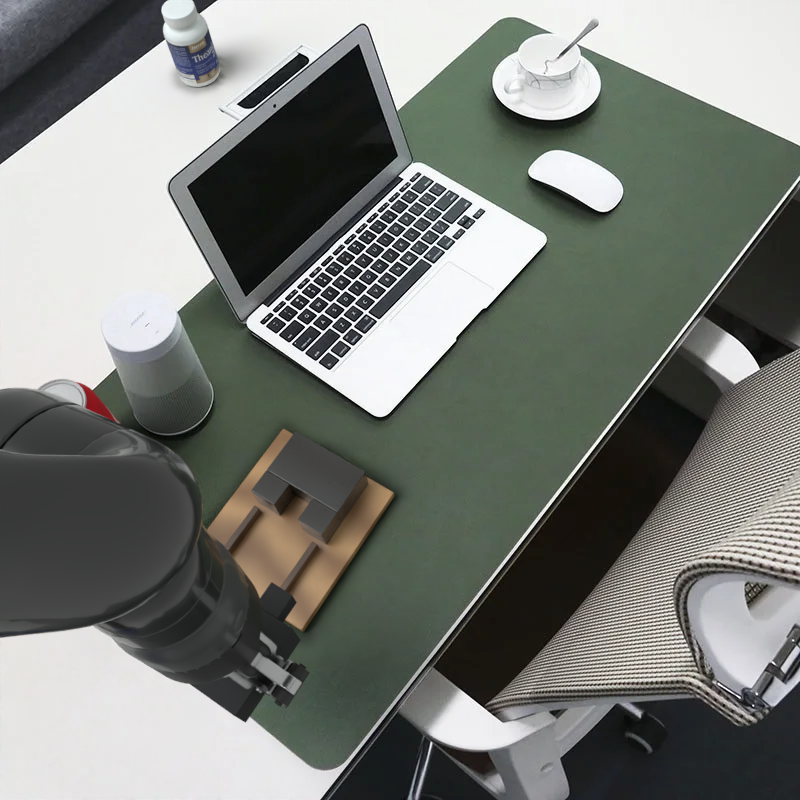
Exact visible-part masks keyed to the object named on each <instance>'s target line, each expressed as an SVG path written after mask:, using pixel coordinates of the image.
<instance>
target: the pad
mask: <svg viewBox="0 0 800 800" xmlns="http://www.w3.org/2000/svg"><path fill="white" fill-rule="evenodd" d="M260 601H261V606H262V626H261V632H262V633H263V634H265V635H266V636H267V637H268V638H269V639H270V640H272V641H273V642H274V643H275V644H276V645H277V650H276V655H277V656H278V655H279V656H281V657H282V658H284V660H283V661H284V662H286V661H287V660H288V659H289V660H290V657H291V656H292V654H293V653H294V651H295V649H297V647H298V645H299V644H300V642H301V641H302V640H301V638H300V637H299V635H298V634H297V633H296V631H295V629H293V628H292V627H291V626H289V625H287V624H286V623H285V622H286V621H285V619H286V618H287V616H288V615H289V613H290V612H291V610H292V609H293V607H294V606H295V604H296V603H297V602H296V600H295V599H294V597H293V596H292V595H291V594H290V593H288V592H286V591H285V590H283V589H282V588H280V587H279V586H277V585H276V584H274V583H272V582H271V583H270V585H269V586H268V588H267V589H266V590H265V592H264V593H263V595H262V596H261V598H260ZM189 685H190V686H192V687H193V688H194V689H196V690H197V691H199V692H200V693H202V694H203V695H204V696H205V697H207V698H209V699H210V700H211V701H213V702H214V703H216V704H217V705H219V706H220V707H221V708H222V709H224V710H226V711H227V712H228V713H229V714H231V715H232V716H234V717H235V718H237V719H238V720H240V721H242V722H243V723H247V722H248V720H249V719H250V717H251V715H252V714H253V713H254V711H255V710H256V708H257V707H258V705H259V704H260V702H261V701H262V699H263V698H264V697H265V695H266V694H265V693H263V692H262V693H259V692H258V691H257V690H255V689H256V687H255V686H252V687H251V688H250V689H245V688H244V687H242V686H241V685H239V684H238V683H236V682H235V681H233V680H232V679H231V678H229V677H226V678H223V677H222V678H220V679H218V680H215V681H212V682H208V683H202V684H189Z"/></svg>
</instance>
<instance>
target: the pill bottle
mask: <svg viewBox="0 0 800 800" xmlns="http://www.w3.org/2000/svg"><path fill="white" fill-rule="evenodd" d="M197 10H198V9H197V7H196V5H195V1H193V0H166V1H165V2H164V3H163V4H162V6H161V15H162V18H163V20H164V23H163V25H162V33H163V37H164V39H165V42H166V45H167V47H168V50H169V53H170V56H171V58H172V62H173V63H174V66H175V69H176V72H177V75H178V77H179V79H180V81H181V82H182V83H183V84H185V85H187V86H189V87H193V88H200V87H205V86H208V85H210V84H212V83H213V82H214V81H216V80H217V78H218V77H219V76H220V73H221V65H220V62H219V58H218V54H217V52H216V48H215V46H214V42H213V39H212V36H211V32H210V29H209V26H208V25H209V24H208V23H207V20H206V18H205V17H204V16H203V15H202V14H200V13H198V11H197Z"/></svg>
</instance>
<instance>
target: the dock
mask: <svg viewBox="0 0 800 800" xmlns="http://www.w3.org/2000/svg"><path fill="white" fill-rule="evenodd" d="M394 498H395V493H394V492H393V491H392V490H390V489H389V488H387V487H385V486H384V485H382V484H379V483H378V482H376V481H375V480H373V479H371V478H370V477H368V476H367V473H366V471H364V470H363V469H361V468H360V467H358V466H356V465H354V464H353V463H351V462H349V461H348V460H346V459H344V458H342V457H341V456H339V455H337V454H335V453H334V452H332V451H330V450H328V449H327V448H325V447H324V446H321V445H320V444H318V443H317V442H315V441H314V440H311V439H310V438H308V437H306V436H304V435H303V434H301V433H299V432H298V431H295V432H293V433H292V432H290V431H289V430H287V429H285V428H282V429H281V431H280V432H279V433H278V434H277V436H276V438H275V439H274V440H273V441H272V442H271V444H270V445H269V446H268V447H267V449H266V451H264V453H263V455H262V456H261V457H260V458H259V460H258V461H257V462H256V464H255V465H254V467H252V469H250V472H249V473H248V474H247V475H246V477H245V478H244V479H243V481H242V483H241V484H240V485H239V486H238V487H237V489H236V490H235V492H234V493H233V494H232V495H231V497H230V498H229V500H228V501H226V504H224V506H223V508H222V509H221V510H220V512H219V513H218V514H217V516H216V517H215V518H214V519H213V520H212V522H211V523H210V525H209V526H208V527H207V528H206V530H207V531H208V532H209V534H210V535H212V536H213V537H215V538H216V539H217V540H218V541H220V542H221V543H222V544H223V545H224V546H225V548H226V549H227V550H228V551H229V552H230V553H231V555H232V556H233V558H234V559H235V560H236V562H237V563H238V564H239V566H240V567H241V568H242V570H243V571H244V572H245V574H246V575H247V576H248V578H249V579H250V580H251V582H252V583H253V585H254V586H255V588H256V590H257V592H258V594H259V597H260V598H261V596H262V595H263V593H264V592H265V590H266V589H267V588H268V586H269V585H270V583H271V582H272V583H274V584H276V585H277V586H279V587H280V588H282V589H283V590H285V591H286V592H288V593H290V594H291V595H292V596H293V597H294V599H295V600H296V602H297V603H296V604H295V606H294V607H293V609H292V610H291V612H290V613H289V615H288V616H287V618H286V619H285V621H284V622H286V623H288V624H289V625H291V626H292V627H294V628H295V629H297V630H299V631H300V632H301V633H303V632H305V630H306V629H307V628H308V626H309V624H310V623H311V622H312V620H313V619H314V617H315V616H316V615H317V613H318V611H319V610H320V608H321V607H322V605H323V604H324V602H325V601H326V600H327V598H328V597H329V595H330V593H331V591H332V590H333V589H334V587H335V586H336V584H337V583H338V581H339V580H340V578H341V577H342V575H343V574H344V573H345V571H346V570H347V568H348V566H349V565H350V563H351V562H352V560H353V559H354V558H355V556H356V554H357V553H358V551H359V550H360V549H361V547H362V546H363V544H364V542H365V541H366V539H367V538H368V536H369V535H370V533H371V532H372V531H373V529H374V528H375V526H376V524H377V523H378V521H379V520H380V519H381V517H382V515H384V513H385V511H386V510H387V509H388V507H389V505H390V504H391V502H392V501H393V499H394Z"/></svg>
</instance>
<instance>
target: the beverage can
mask: <svg viewBox="0 0 800 800" xmlns="http://www.w3.org/2000/svg"><path fill="white" fill-rule="evenodd" d="M37 389H38V390H43V391H46V392H50V393H53V394H56V395H58V396H61V397H63V398H65V399H67V400H70V401H72V402H74V403H76V404H78V405H80V406H82V407H84V408H86V409H88V410H91V411H93V412H95V413H97V414H99V415H102V416H104V417H106V418H108V419H110V420H113V421H115V422H117V423H119V424H121V425H123V424H122V423H121V422H120V421H119V420H118V419H117V417H116V416H115V415H114V414H113V413H112V411H111V410H110V409H109V407H108V406H106V404H105V403H104V402H103V401H102V400H101V398H100V397H99V396H98V395H97V394H96V393H95V392H94V390H93V389H91V388H90V386H87V385H86V384H84V383H82V382H77V381H75V380H72V379H68V378H56V379H52V380H49V381H47V382H45V383H43V384H42V385H40V386H39V387H38V388H37Z"/></svg>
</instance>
